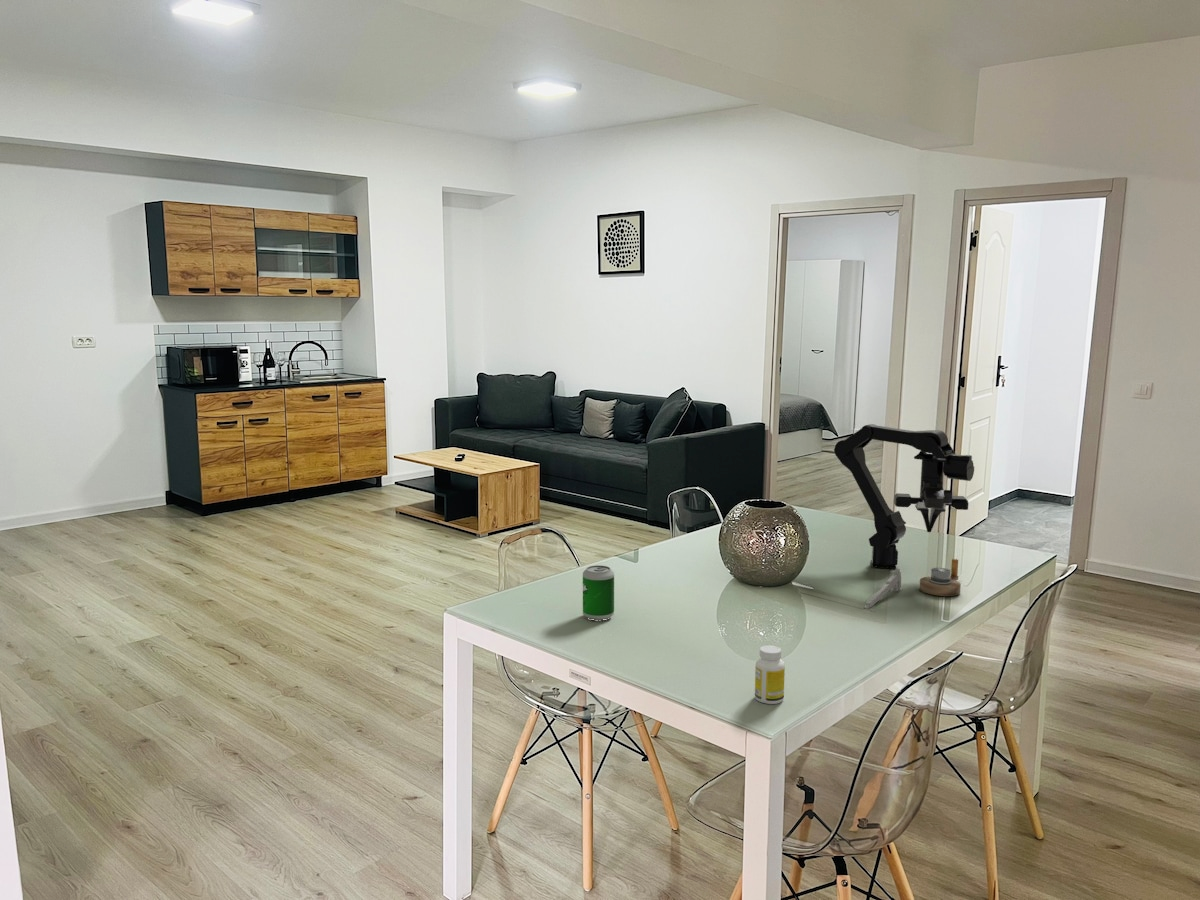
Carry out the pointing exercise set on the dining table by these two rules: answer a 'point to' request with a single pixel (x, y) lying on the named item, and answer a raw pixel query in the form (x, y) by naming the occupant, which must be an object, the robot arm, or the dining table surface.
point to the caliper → (886, 588)
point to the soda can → (598, 592)
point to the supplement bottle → (769, 676)
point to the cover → (940, 576)
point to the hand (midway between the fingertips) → (928, 532)
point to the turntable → (942, 589)
